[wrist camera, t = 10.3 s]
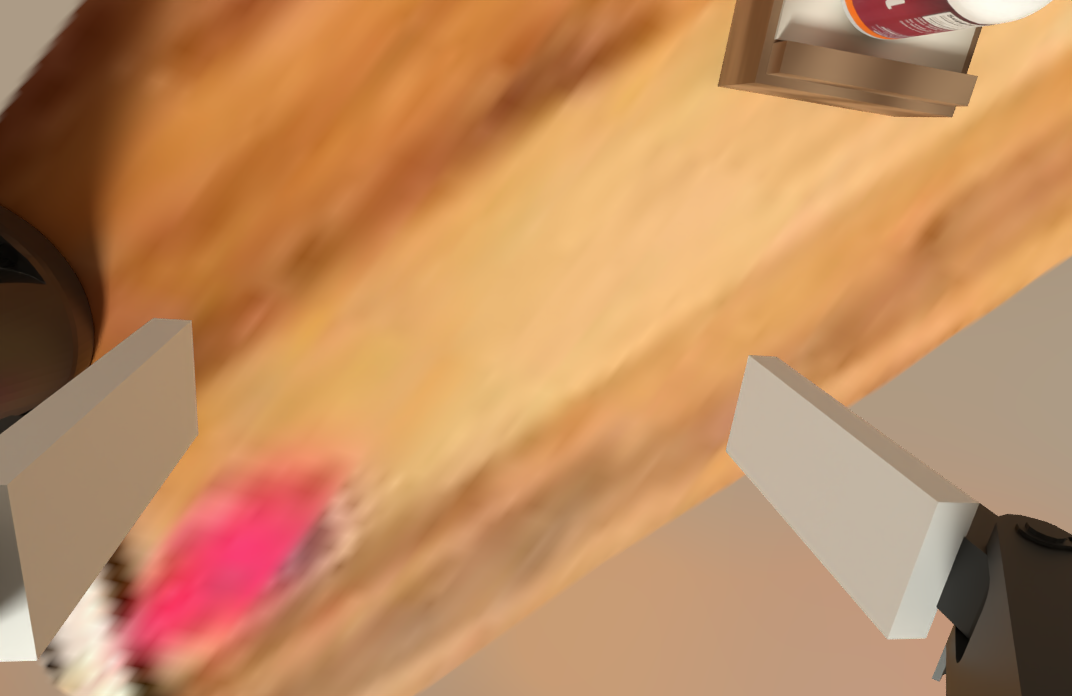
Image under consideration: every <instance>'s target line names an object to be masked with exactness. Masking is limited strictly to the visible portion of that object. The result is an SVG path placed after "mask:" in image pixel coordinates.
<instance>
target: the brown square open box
mask: <svg viewBox="0 0 1072 696" xmlns="http://www.w3.org/2000/svg"><path fill="white" fill-rule="evenodd" d="M981 29H982V27H975V28H968V29H961V30H954V31H948V32H941V33H934V34H928V35H921V36H915V37H908V38H902V39H889V40H885V39H877V38H873V37H870V36H868V35H866V34H864V33H862V32H860V31H859V30H858V29H856V28H855V27H854V26H853V24H852V23H851V22H850V20H849V19H848V17H847V16H846V14H845V12H844V9H843V7H842V3H841V0H737V1H736V6H735V10H734V15H733V20H732V24H731V29H730V33H729V38H728V42H727V47H726V52H725V56H724V61H723V65H722V70H721V74H720V79H719V84H718V86H720V87H725V88H731V89H737V90H743V91H749V92H754V93H760V94H766V95H772V96H778V97H784V98H789V99H795V100H801V101H807V102H813V103H818V104H824V105H830V106H836V107H842V108H848V109H853V110H859V111H865V112H871V113H877V114H882V115H888V116H894V117H952V116H953V113H954V110H955V107H956V106H968V104H969V101H970V98H971V95H972V92H973V89H974V86H975V83H976V80H977V77H978V76H974V75H969V74H967V71H968V68H969V65H970V62H971V59H972V56H973V53H974V50H975V47H976V44H977V41H978V38H979V35H980V32H981Z"/></svg>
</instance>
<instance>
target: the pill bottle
mask: <svg viewBox="0 0 1072 696" xmlns="http://www.w3.org/2000/svg"><path fill="white" fill-rule="evenodd" d="M1051 1H1052V0H841V3H842V7H843V9H844V12H845V14H846V16H847V17H848V19H849V20H850V22H851V23H852V24H853V26H854V27H855V28H856V29H858V30H859V31H860V32H862V33H864V34H866V35H868V36H870V37H873V38H877V39H885V40H889V39H902V38H908V37H915V36H921V35H928V34H934V33H941V32H948V31H954V30H961V29H968V28H975V27H982V26H989V25H995V24H1000V23H1006V22H1011V21H1015V20H1019V19H1022V18H1024V17H1026V16H1029V15H1031V14H1033V13H1035V12H1037V11H1038V10H1040V9H1042V8H1043V7H1044V6H1046V5H1047V4H1049V3H1050V2H1051Z"/></svg>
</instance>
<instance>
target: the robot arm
mask: <svg viewBox="0 0 1072 696" xmlns="http://www.w3.org/2000/svg"><path fill="white" fill-rule="evenodd" d="M93 346H94V327H93V319H92V315H91V310H90V307H89V303H88V300H87V297H86V295H85V292H84V290H83V288H82V286H81V284H80V282H79V280H78V278H77V276H76V274H75V273H74V271H73V270H72V268H71V267H70V265H69V264H68V262H67V261H66V260H65V258H64V257H63V256H62V255H61V253H60V252H59V251H58V250H57V249H56V248H55V247H54V246H53V245H52V243H51V242H50V241H49V240H48V239H47V238H45V237H44V236H43V235H42V234H41V233H40V232H39V231H38V230H36V229H35V228H34V227H33V226H31V225H30V224H29V223H27V222H26V221H25V220H23V219H22V218H20V217H19V216H17V215H16V214H14V213H13V212H11V211H9V210H8V209H6V208H4V207H2V206H0V661H37V660H38V659H39V657H40V656H41V655H42V653H43V652H44V650H45V649H46V648H47V646H48V645H49V643H50V642H51V640H52V639H53V638H54V636H55V635H56V633H57V632H58V631H59V629H60V628H61V626H62V625H63V624H64V622H65V621H66V619H67V618H68V617H69V615H70V614H71V612H72V611H73V610H74V608H75V607H76V605H77V604H78V603H79V601H80V600H81V598H82V597H83V595H84V594H85V593H86V591H87V590H88V588H89V587H90V586H91V584H92V583H93V581H94V580H95V579H96V577H97V576H98V574H99V573H100V572H101V570H102V569H103V567H104V566H105V565H106V563H107V562H108V560H109V559H110V557H111V556H112V555H113V553H114V552H115V550H116V549H117V548H118V546H119V545H120V543H121V542H122V541H123V539H124V538H125V536H126V535H127V534H128V532H129V531H130V529H131V528H132V527H133V525H134V524H135V522H136V521H137V520H138V518H139V517H140V515H141V514H142V512H143V511H144V510H145V508H146V507H147V505H148V504H149V503H150V501H151V500H152V498H153V497H154V496H155V494H156V493H157V491H158V490H159V489H160V487H161V486H162V484H163V483H164V482H165V480H166V479H167V477H168V476H169V474H170V473H171V472H172V470H173V469H174V467H175V466H176V465H177V463H178V462H179V460H180V459H181V458H182V456H183V455H184V453H185V452H186V451H187V449H188V448H189V446H190V445H191V444H192V442H193V441H194V439H195V438H196V437H197V435H198V421H197V404H196V388H195V371H194V354H193V337H192V321H191V320H175V319H159V318H153V319H151V320H150V321H149V322H147V323H146V324H145V325H143V326H142V327H141V328H140V329H138V330H137V331H136V332H134V333H133V334H132V335H130V336H129V337H128V338H126V339H125V340H124V341H122V342H121V343H120V344H118V345H117V346H116V347H114V348H113V349H112V350H111V351H109V352H108V353H107V354H105V355H104V356H103V357H101V358H100V359H99V360H97V361H96V362H95V363H93V364H92V365H91V366H89V365H90V362H91V358H92V353H93ZM726 452H727V453H728V455H729V456H730V457H731V458H732V459H733V460H734V462H735V463H736V464H737V465H738V466H739V467H740V468H741V470H742V471H743V472H744V473H745V474H746V475H747V477H748V478H749V479H750V480H751V481H752V482H753V483H754V485H755V486H756V487H757V488H758V489H759V490H760V492H761V493H762V494H763V495H764V496H765V498H766V499H767V500H768V501H769V502H770V503H771V504H772V505H773V507H774V508H775V509H776V510H777V512H778V513H779V514H780V515H781V516H782V517H783V519H784V520H785V521H786V522H787V523H788V524H789V525H790V527H791V528H792V529H793V530H794V531H795V532H796V534H797V535H798V536H799V537H800V538H801V539H802V540H803V542H804V543H805V544H806V545H807V546H808V548H809V549H810V550H811V551H812V552H813V553H814V555H816V557H817V558H818V559H819V560H820V562H821V563H822V564H823V565H824V566H825V567H826V568H827V570H828V571H829V572H830V573H831V574H832V575H833V577H834V578H835V579H836V580H837V581H838V582H839V584H840V585H841V586H842V587H843V588H844V589H845V591H846V592H847V593H848V594H849V595H850V596H851V598H852V599H853V600H854V601H855V602H856V603H857V605H858V606H859V607H860V608H861V609H862V610H863V612H864V613H865V614H866V615H867V616H868V617H869V619H870V620H871V621H872V622H873V623H874V624H875V626H876V627H877V628H878V629H879V630H880V631H881V632H882V634H883V635H884V636H885V637H886V638H887V639H917V638H926V637H927V634H928V631H929V629H930V627H931V624H932V622H933V619H934V617H935V614H936V611H937V609H939V610H940V611H941V612H942V613H943V614H944V615H945V616H946V617H947V618H948V619H949V620H950V621H951V622H952V623H953V624H954V626H953V628H952V631H951V633H950V636H949V638H948V641H947V643H946V645H945V648H944V650H943V653H942V655H941V657H940V660H939V663H938V665H937V667H936V670H935V672H934V675H933V677H932V679H934V680H937V681H940V679H941V677H942V675H944V674H946V696H1072V535H1071V534H1069V533H1068V532H1066V531H1064V530H1062V529H1060V528H1058V527H1057V526H1055V525H1052V524H1049V523H1048V522H1045V521H1041V520H1038V519H1034V518H1030V517H1026V516H1022V515H1013V514H1006V515H1002V516H999V517H998V516H997V515H995V514H994V513H993V512H991V511H990V510H988V509H987V508H986V507H984V506H983V505H982V504H980V503H979V502H977V501H976V500H975V499H973V498H972V497H970V496H969V495H967V494H966V493H965V492H963V491H962V490H961V489H959V488H958V487H957V486H955V485H954V484H952V483H951V482H950V481H948V480H947V479H945V478H944V477H943V476H941V475H940V474H938V473H937V472H936V471H934V470H933V469H931V468H930V467H929V466H927V465H926V464H925V463H923V462H922V461H920V460H919V459H918V458H916V457H915V456H913V455H912V454H911V453H909V452H908V451H907V450H905V449H904V448H902V447H901V446H900V445H898V444H897V443H895V442H894V441H893V440H891V439H890V438H888V437H887V436H886V435H884V434H883V433H882V432H880V431H879V430H877V429H876V428H875V427H873V426H872V425H870V424H869V423H868V422H866V421H865V420H863V419H862V418H861V417H859V416H858V415H857V414H855V413H853V412H852V411H851V410H850V409H848V408H847V407H845V406H844V405H843V404H841V403H840V402H838V401H837V400H836V399H834V398H833V397H832V396H830V395H829V394H827V393H826V392H825V391H823V390H822V389H820V388H819V387H818V386H816V385H815V384H813V383H812V382H811V381H809V380H808V379H807V378H805V377H804V376H802V375H801V374H800V373H798V372H797V371H795V370H794V369H793V368H791V367H790V366H788V365H787V364H786V363H784V362H783V361H782V360H780V359H779V358H777V357H771V356H755V355H749V356H748V361H747V365H746V369H745V373H744V377H743V381H742V385H741V390H740V394H739V398H738V402H737V406H736V410H735V415H734V419H733V423H732V427H731V431H730V435H729V440H728V444H727V448H726Z"/></svg>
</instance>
